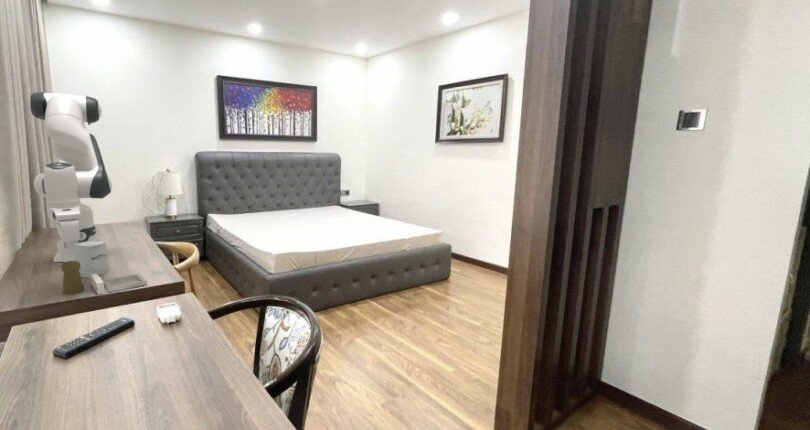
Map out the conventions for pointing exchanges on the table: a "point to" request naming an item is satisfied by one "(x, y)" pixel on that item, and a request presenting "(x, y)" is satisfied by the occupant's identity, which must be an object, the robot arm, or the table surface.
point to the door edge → (97, 283)
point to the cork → (72, 278)
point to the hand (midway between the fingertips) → (69, 250)
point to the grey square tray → (124, 282)
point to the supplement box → (91, 258)
